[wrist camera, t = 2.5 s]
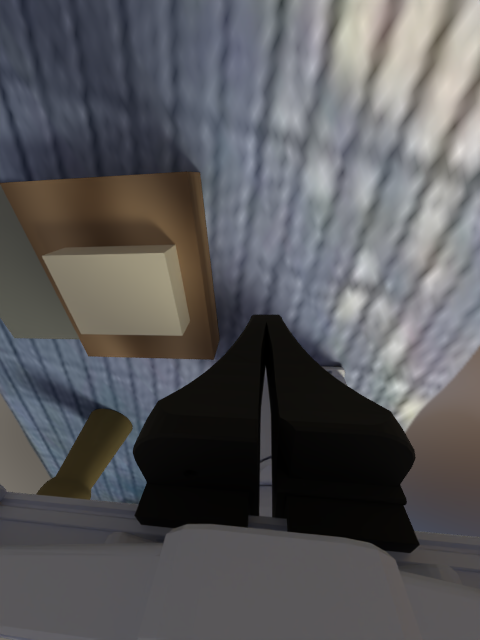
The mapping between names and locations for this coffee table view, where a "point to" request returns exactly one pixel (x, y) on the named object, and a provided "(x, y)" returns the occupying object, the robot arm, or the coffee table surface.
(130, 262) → the tile
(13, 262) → the mat
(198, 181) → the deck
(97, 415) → the cork
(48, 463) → the coffee table surface
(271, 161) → the coffee table surface
